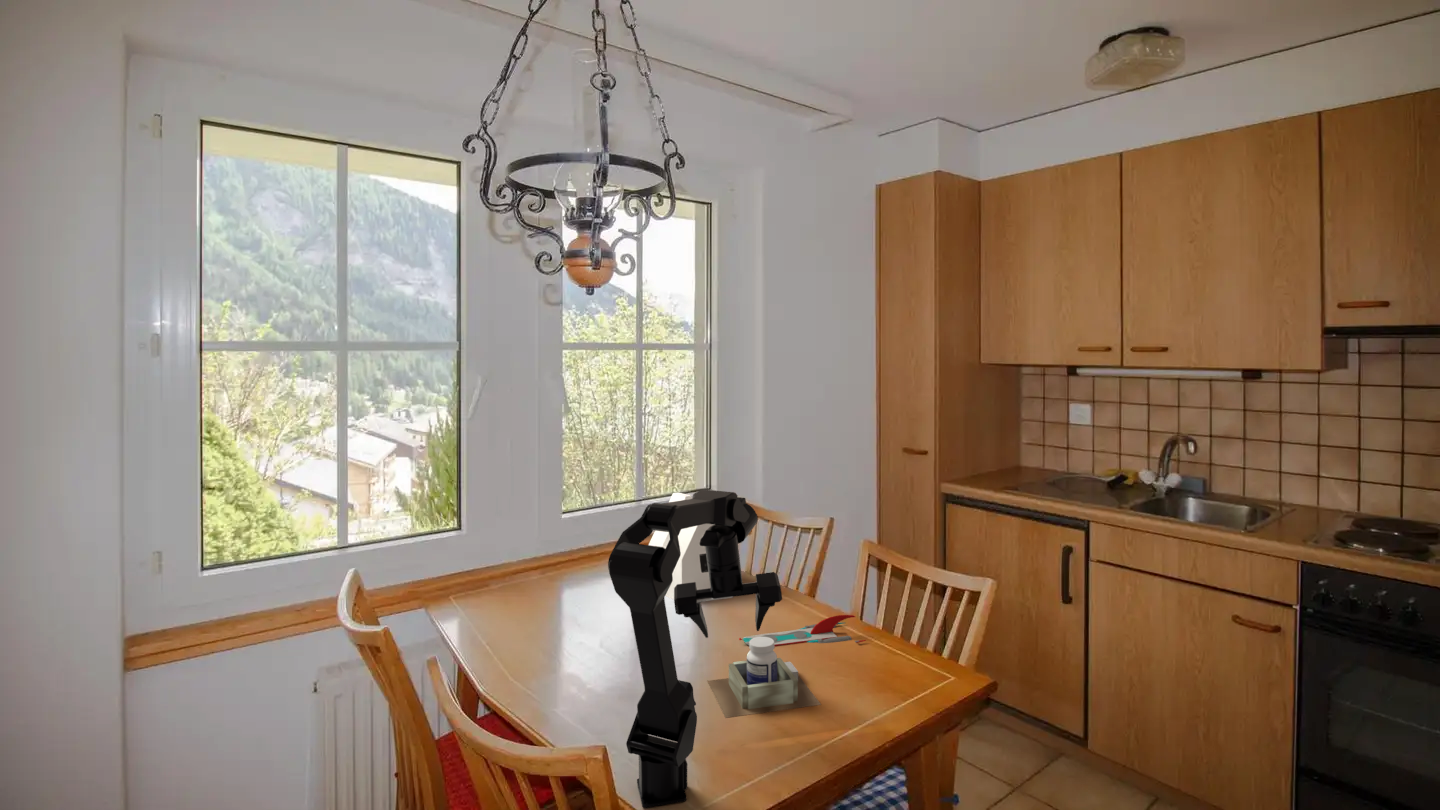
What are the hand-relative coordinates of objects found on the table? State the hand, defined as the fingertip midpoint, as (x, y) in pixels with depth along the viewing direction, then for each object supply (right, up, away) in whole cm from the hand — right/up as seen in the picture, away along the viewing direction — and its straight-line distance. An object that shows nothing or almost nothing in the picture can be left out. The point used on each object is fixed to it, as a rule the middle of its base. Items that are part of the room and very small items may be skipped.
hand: (732, 633), depth 128 cm
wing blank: (+11, -12, +11) cm, 20 cm away
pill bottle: (+6, -13, +5) cm, 15 cm away
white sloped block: (-10, -9, +65) cm, 66 cm away
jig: (+6, -14, +5) cm, 16 cm away
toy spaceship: (+15, -12, +30) cm, 36 cm away
